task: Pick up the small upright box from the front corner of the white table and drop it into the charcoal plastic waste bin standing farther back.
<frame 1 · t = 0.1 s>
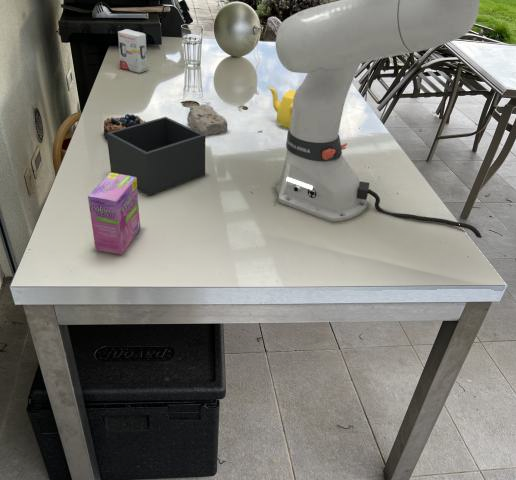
bin: (158, 174, 131), on the table
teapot: (293, 125, 162), on the table
ink box: (134, 70, 190), on the table
pastry: (128, 137, 146), on the table
box: (119, 240, 109), on the table
stone: (206, 128, 155), on the table
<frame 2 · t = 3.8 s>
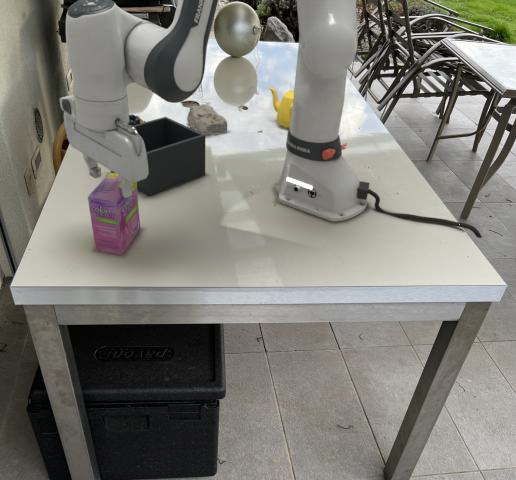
hand: (110, 185, 101), 12 cm above the table, tool pointing down, fingers open, 8 cm apart
box: (119, 240, 109), on the table, touching gripper
everything else where it was.
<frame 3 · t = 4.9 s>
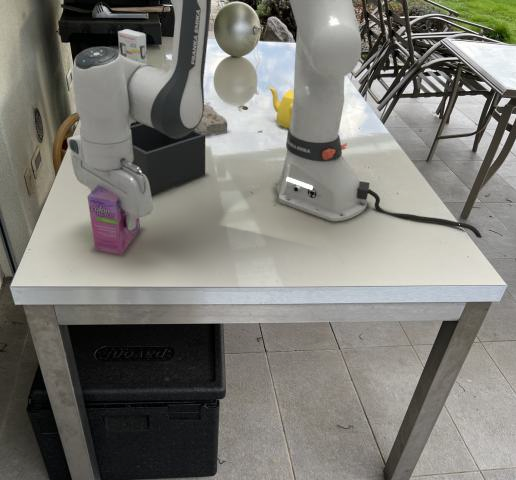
hand: (116, 218, 105), 5 cm above the table, tool pointing down, fingers closed on box, 7 cm apart
box: (119, 240, 109), on the table, touching gripper
everything else where it was.
when the fingers open (7 cm above the table, at t = 13.3 s): box drops 1 cm, resting on bin.
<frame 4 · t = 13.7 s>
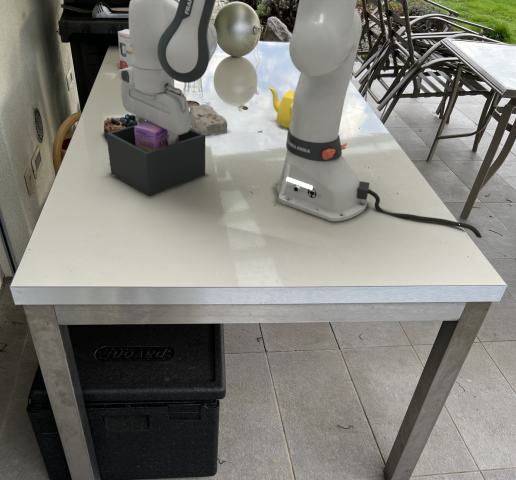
hand: (157, 141, 125), 8 cm above the table, tool pointing down, fingers open, 8 cm apart
box: (159, 171, 131), point 1 cm above the table, touching bin
everything else where it was.
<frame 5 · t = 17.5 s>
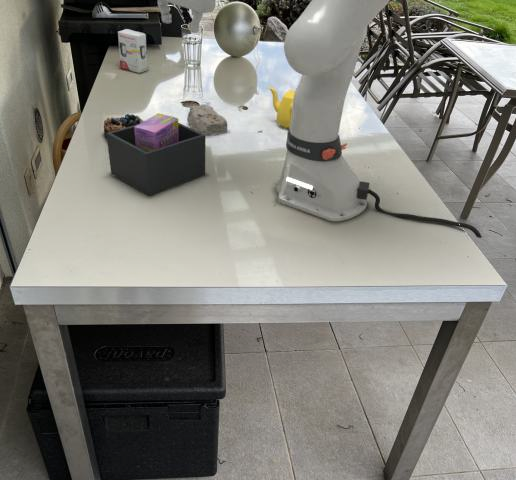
hand: (180, 27, 123), 29 cm above the table, tool pointing down, fingers open, 8 cm apart
nothing on the table moved.
at the end: box inside the target area in the bin (0.1 cm from its centre), point 0.8 cm above the bin's base; the gripper is holding nothing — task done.
